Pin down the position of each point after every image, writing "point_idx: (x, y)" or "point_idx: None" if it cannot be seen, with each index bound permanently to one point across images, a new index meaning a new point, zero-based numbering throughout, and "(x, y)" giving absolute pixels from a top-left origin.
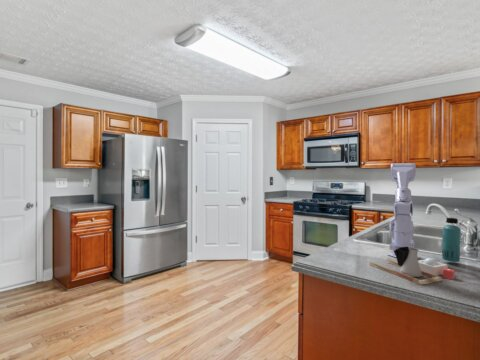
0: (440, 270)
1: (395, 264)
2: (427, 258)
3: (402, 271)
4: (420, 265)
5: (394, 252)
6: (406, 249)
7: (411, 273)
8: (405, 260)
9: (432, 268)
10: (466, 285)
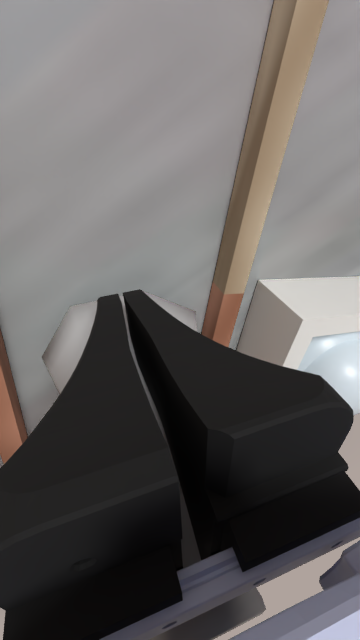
0: None
1: (256, 110)
2: (354, 393)
3: (52, 354)
4: (270, 353)
5: (40, 425)
6: (206, 553)
7: None
8: (150, 390)
9: None
10: None
